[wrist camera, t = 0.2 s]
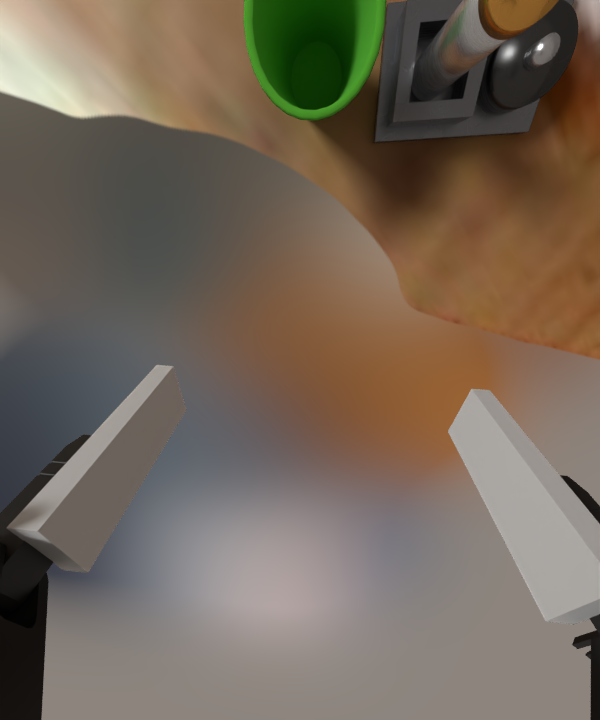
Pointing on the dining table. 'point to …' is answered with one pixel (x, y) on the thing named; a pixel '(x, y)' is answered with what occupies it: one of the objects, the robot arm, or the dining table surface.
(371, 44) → the cup
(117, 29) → the dining table surface
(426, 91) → the pin
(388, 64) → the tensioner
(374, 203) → the dining table surface
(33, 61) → the dining table surface
